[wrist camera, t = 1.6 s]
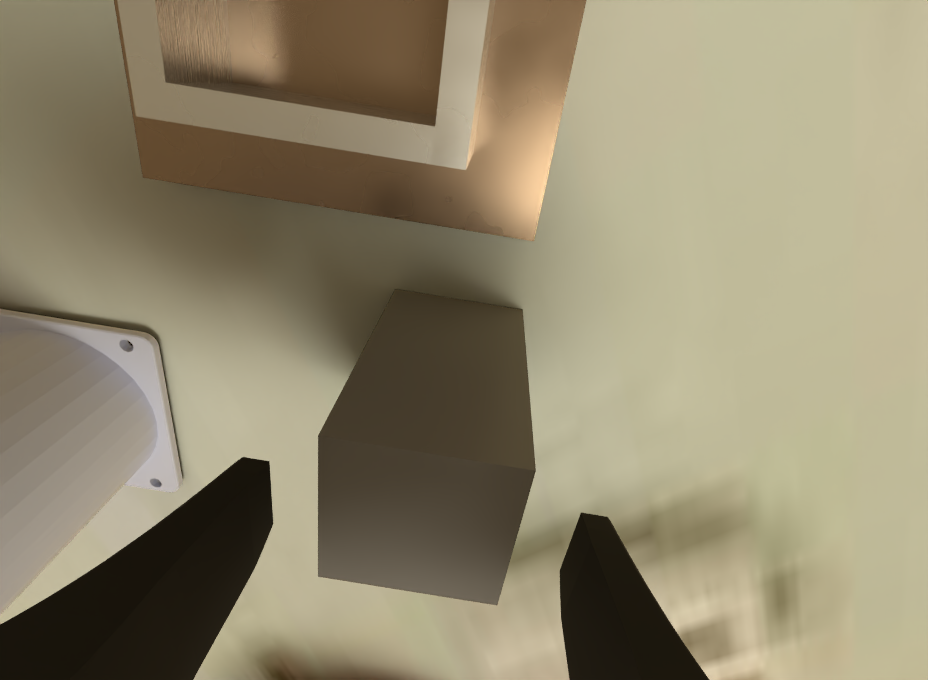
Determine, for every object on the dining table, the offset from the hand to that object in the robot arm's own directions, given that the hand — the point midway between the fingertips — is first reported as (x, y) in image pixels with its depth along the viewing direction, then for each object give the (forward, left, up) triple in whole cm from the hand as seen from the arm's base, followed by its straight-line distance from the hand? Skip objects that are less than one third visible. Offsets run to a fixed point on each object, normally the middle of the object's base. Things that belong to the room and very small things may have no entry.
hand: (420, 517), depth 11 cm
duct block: (0, 0, -8) cm, 8 cm away
